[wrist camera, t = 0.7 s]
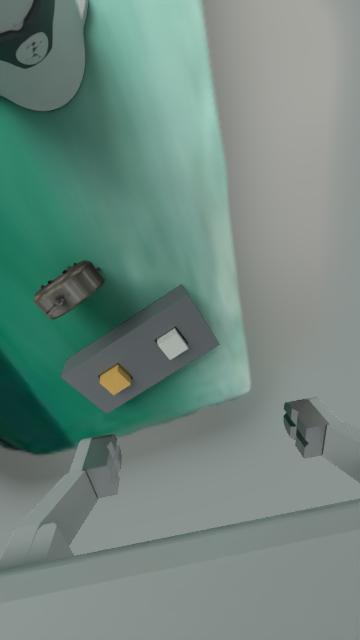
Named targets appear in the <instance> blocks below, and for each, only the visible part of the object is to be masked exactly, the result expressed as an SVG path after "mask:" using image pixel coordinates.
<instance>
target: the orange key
mask: <svg viewBox="0 0 360 640" xmlns="http://www.w3.org/2000/svg"><path fill="white" fill-rule="evenodd" d="M99 383H100V384H101V385H102V386H103V387H105V388H106V389H107V390H108V391H109V392H110V393H111V394H112V395H115V394H117V393H118V392H120V391H122V390H123V389H125V388H126V387H128V386H130V385H131V375H130V374H129V373H128V372H127V371H126V370H125V369H124V368H123V367H122V366H121V365H120V364H119V363H117V364H116V365H114V366H113V367H111V368H110V369H108V370H106V371H105V372H103V373H102V374H101V375H100V382H99Z"/></svg>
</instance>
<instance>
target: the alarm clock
mask: <svg viewBox="0 0 360 640" xmlns="http://www.w3.org/2000/svg"><path fill="white" fill-rule="evenodd" d="M73 265H74V266H73V267H72V268H70V266H68V267H67V271H66V270H64V271H63V272H62V273H63V274H61V275H60V276H59V277H57V278H56V279H54V280H53V281H52V280H49V281H48V283H49V284H47V285H46V286H43V285H41V288H42V289H41V290H39V291H38V292H37V293H36V294H35V296H34V302H35V304H36V305H37V306H38V307H39V308H40V309H41V310H42V311H43V312H44V313H45V316H48V317H49V318H50V319H56V318H58V317H60V316H62V315H64V314H66V313H67V312H69V311H70V310H72V309H73V308H75V307H76V306H78V305H79V304H80V303H82V302H83V301H84V300H85V299H87V298H88V297H89V296H91V295H92V294H93V293H94V292H95V291H96V290H97V289H98V288H99V287H100V286H101V285H102V284H103V283H104V280H105V279H104V278H103V277H102V275H101V274H100V273H99V272H98V271H99V270H100V268H99V267H97V269H96V268H95V266H94V265H93V264H92V263H91V262H90V261H81V262H79V263H78V264H76V263H73Z"/></svg>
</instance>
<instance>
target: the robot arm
mask: <svg viewBox="0 0 360 640" xmlns="http://www.w3.org/2000/svg"><path fill="white" fill-rule="evenodd" d="M87 10H88V0H0V96H3V97H5V98H7V99H8V100H10V101H12V102H14V103H16V104H18V105H20V106H22V107H24V108H27V109H31V110H36V111H50V110H54V109H57V108H60V107H62V106H63V105H65V104H66V103H68V102H69V101H70V100H71V99H72V98H73V96H74V95H75V94H76V92H77V91H78V89H79V87H80V84H81V82H82V78H83V74H84V69H85V45H84V33H83V30H84V24H85V20H86V15H87ZM284 410H285V411H286V414H285V415H284V425H285V428H286V430H287V433H288V434H289V436H290V437H291V438H293V439H294V440H296V443H295V445H296V447H297V449H298V450H299V452H300V453H301V455H302V456H303V458H308V457H315V456H321V455H323V457H324V458H326V459H327V460H328V461H330V462H331V463H333V464H334V465H335V466H337V467H338V468H340V469H341V470H342V471H344V472H345V473H347V474H348V475H349V476H351V477H352V478H354V479H355V480H356V481H358V482H359V483H360V429H359V428H357V427H355V426H353V425H351V424H349V423H346V422H341V421H340V420H339V419H338V418H337V417H336V416H335V415H334V414H333V413H332V412H331V410H330V409H329V408H328V407H327V406H326V405H325V404H324V403H323V402H322V401H321V400H320V399H319V398H318V397H312V398H307V399H302V400H296V401H291V402H286V403H285V404H284ZM116 443H117V438H116V435H115V434H111V435H105V436H98V437H93V438H87V439H82V440H81V441H80V443H79V445H78V448H77V451H76V454H75V457H74V460H73V463H72V466H71V468H70V471H69V474H65V475H64V476H63V477H62V478H61V479H60V481H59V482H58V483H57V484H56V485H55V486H54V487H53V488H52V489H51V490H50V491H49V492H48V493H47V494H46V496H45V497H44V498H43V499H42V500H41V501H40V502H39V503H38V504H37V505H36V506H35V507H34V508H33V510H32V511H31V512H30V513H29V514H28V515H27V516H26V517H25V518H24V519H23V520H22V521H21V522H20V523H19V525H18V526H17V527H16V528H15V529H14V531H13V533H12V535H11V537H10V540H9V542H8V544H7V546H6V548H5V551H4V553H3V555H2V557H1V559H0V640H360V499H356V500H350V501H346V502H341V503H335V504H330V505H325V506H320V507H316V508H311V509H306V510H301V511H296V512H291V513H286V514H281V515H276V516H271V517H266V518H261V519H256V520H251V521H246V522H241V523H236V524H231V525H226V526H221V527H217V528H211V529H207V530H201V531H196V532H192V533H187V534H182V535H177V536H172V537H167V538H162V539H157V540H152V541H147V542H142V543H137V544H132V545H127V546H122V547H117V548H112V549H107V550H102V551H97V552H92V553H87V554H82V555H77V556H74V555H73V553H72V551H71V549H70V548H69V545H70V543H71V542H72V540H73V539H74V537H75V535H76V534H77V532H78V530H79V529H80V527H81V526H82V524H83V523H84V521H85V519H86V518H87V516H88V515H89V513H90V511H91V510H92V508H93V507H94V505H95V503H96V502H97V500H98V498H102V497H106V496H111V495H115V494H117V493H118V486H119V476H118V472H119V471H120V469H121V463H122V455H121V450H120V447H119V446H118V445H116Z"/></svg>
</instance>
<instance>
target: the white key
mask: <svg viewBox="0 0 360 640" xmlns="http://www.w3.org/2000/svg"><path fill="white" fill-rule="evenodd" d="M157 343H158V346H159V347H160V349H161V350H162V351H163V352H164V353H165V355H166V356H167V357H168V358H169V360H171V359H173V358H174V357H176V356H177V355H179V354H181V353H182V352H184V351H185V350H187V349H188V347H187V344H186V342H185V340H184V339H183V337H182V336H181V335H180V333H179V332H178V331H177V329H176V328H175V327H174V328H172V329H171V330H169V331H168V332H166V333H164V334H163V335H161V336H160V337H158V338H157Z"/></svg>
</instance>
